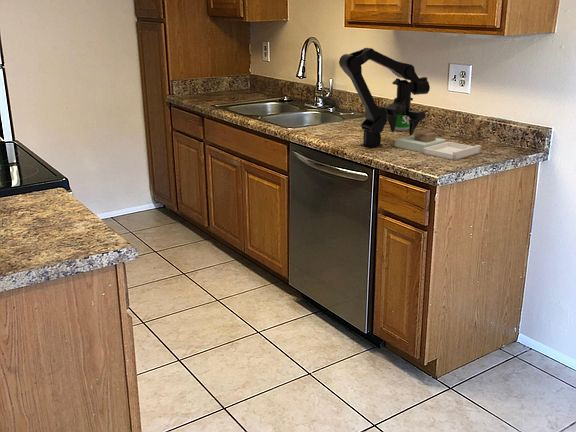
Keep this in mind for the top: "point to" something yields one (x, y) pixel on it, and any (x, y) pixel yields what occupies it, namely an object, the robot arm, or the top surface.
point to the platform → (415, 143)
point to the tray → (451, 150)
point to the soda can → (402, 122)
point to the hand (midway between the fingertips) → (401, 133)
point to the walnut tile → (425, 136)
